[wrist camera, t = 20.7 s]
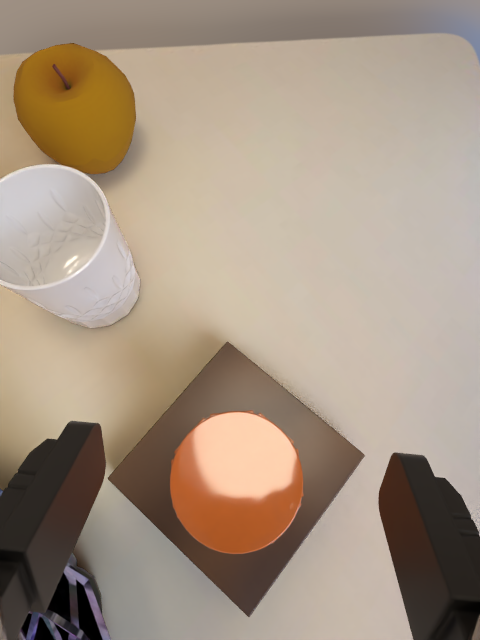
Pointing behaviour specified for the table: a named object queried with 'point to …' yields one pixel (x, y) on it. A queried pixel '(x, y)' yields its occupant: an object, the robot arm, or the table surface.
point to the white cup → (64, 246)
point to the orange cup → (236, 482)
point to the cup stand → (262, 397)
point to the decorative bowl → (69, 610)
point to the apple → (76, 107)
